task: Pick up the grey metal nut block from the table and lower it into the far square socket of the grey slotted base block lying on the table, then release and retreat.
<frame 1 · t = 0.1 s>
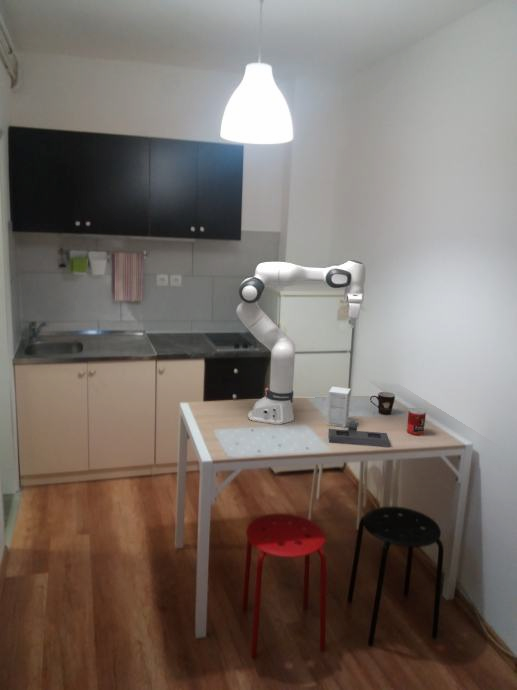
hand: (351, 325, 267), 48 cm above the table, fingers open, 8 cm apart
coffee mug: (381, 412, 296), on the table
supplement box: (337, 423, 277), on the table
nut block: (351, 433, 265), on the table
grey slotted base block: (357, 440, 256), on the table
canned food: (414, 433, 270), on the table
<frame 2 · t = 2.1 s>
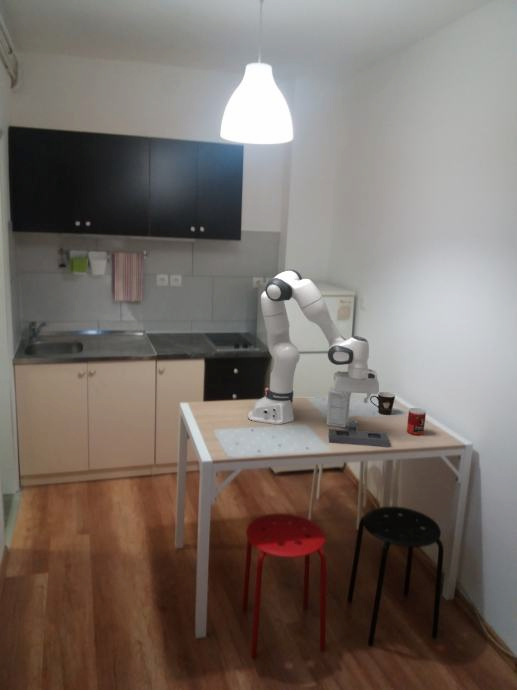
hand: (355, 401, 261), 15 cm above the table, fingers open, 8 cm apart
nothing on the table moved.
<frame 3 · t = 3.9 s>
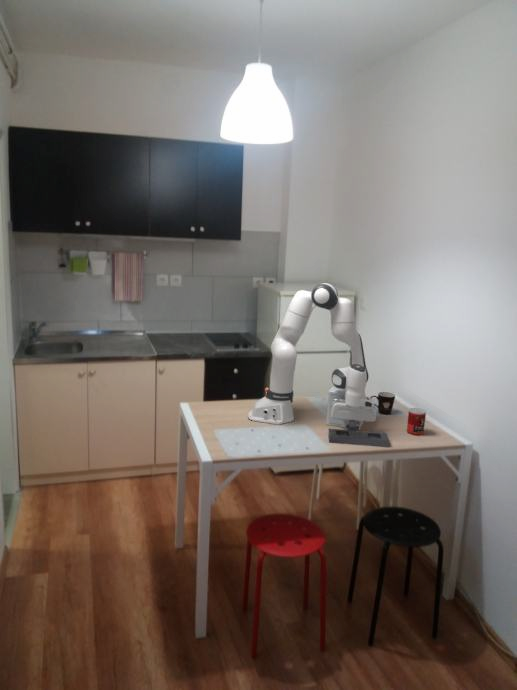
hand: (352, 428, 265), 2 cm above the table, fingers closed on nut block, 4 cm apart
nut block: (351, 433, 265), on the table, touching gripper
everything else where it was.
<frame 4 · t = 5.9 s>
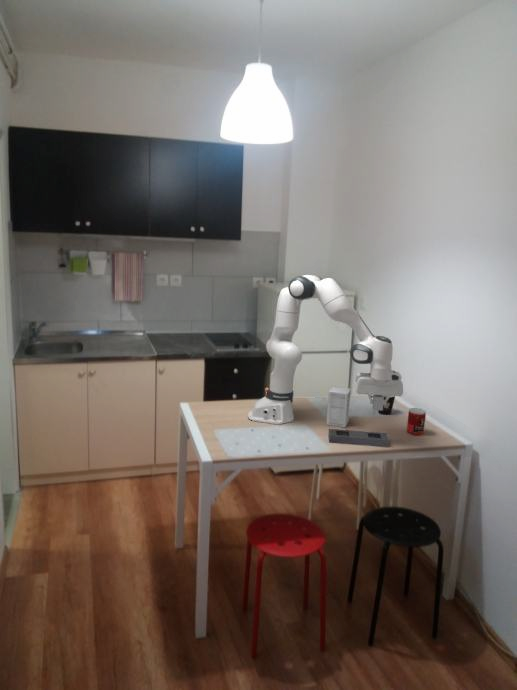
hand: (377, 404, 252), 18 cm above the table, fingers closed on nut block, 4 cm apart
nut block: (377, 408, 252), point 16 cm above the table, touching gripper
everything else where it was.
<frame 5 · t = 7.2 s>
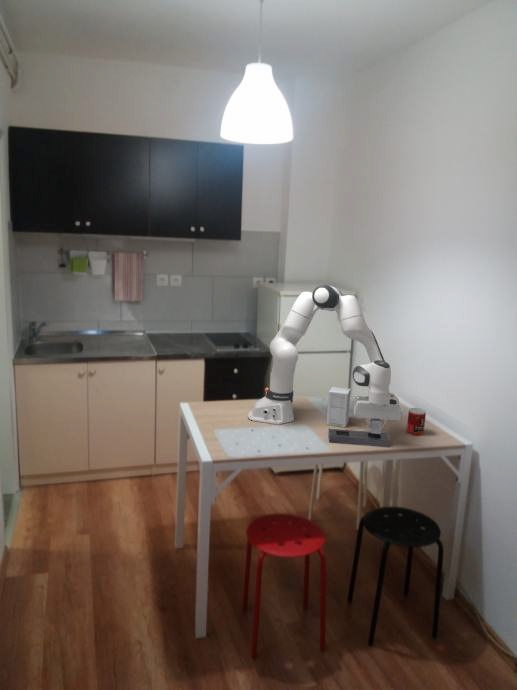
hand: (375, 427, 254), 7 cm above the table, fingers closed on nut block, 4 cm apart
nut block: (375, 431, 255), point 5 cm above the table, touching gripper
everything else where it was.
when the fingers open (4 cm above the table, at t = 8.0 s): nut block drops 2 cm, resting in grey slotted base block.
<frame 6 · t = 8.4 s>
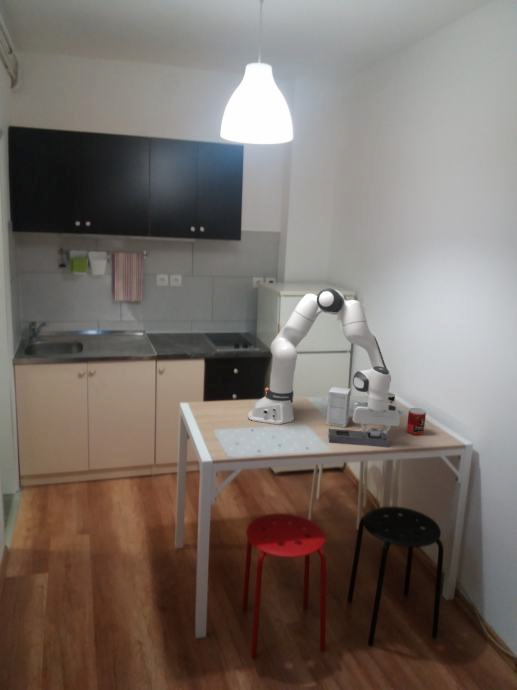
hand: (374, 433, 255), 4 cm above the table, fingers open, 8 cm apart
nut block: (373, 442, 256), resting in grey slotted base block
everything else where it was.
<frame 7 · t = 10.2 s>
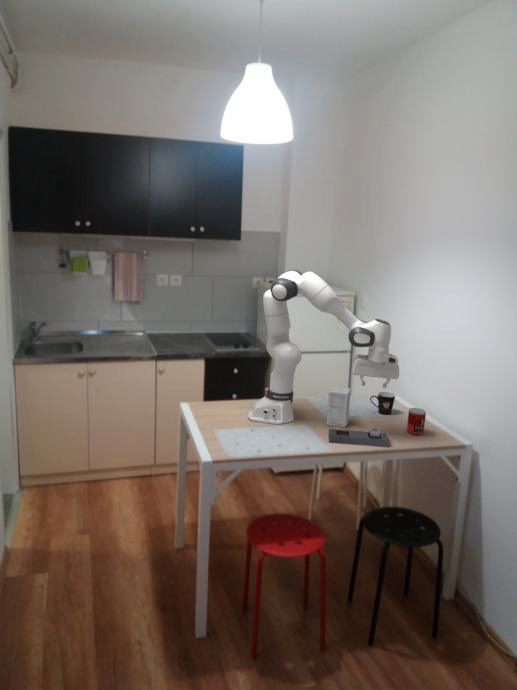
hand: (373, 386, 256), 24 cm above the table, fingers open, 8 cm apart
nothing on the table moved.
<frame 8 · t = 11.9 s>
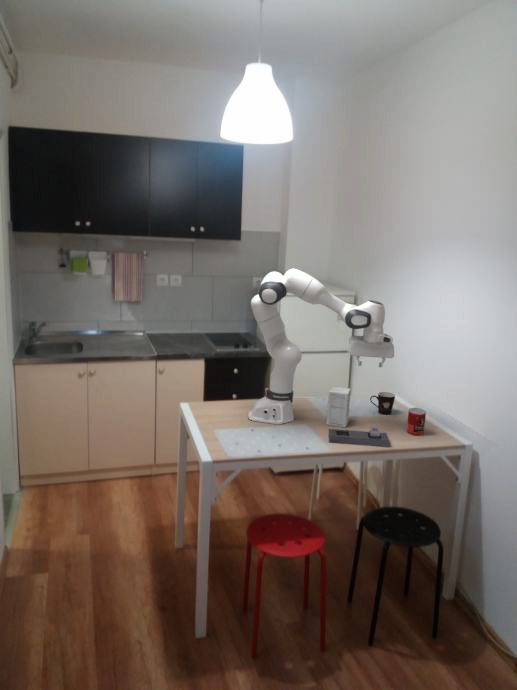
hand: (370, 366, 262), 31 cm above the table, fingers open, 8 cm apart
nothing on the table moved.
at the end: nut block 0.1 cm from the target spot on the grey slotted base block, point 0.0 cm above the grey slotted base block's base; the gripper is holding nothing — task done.
